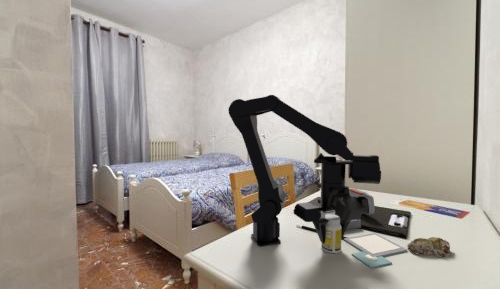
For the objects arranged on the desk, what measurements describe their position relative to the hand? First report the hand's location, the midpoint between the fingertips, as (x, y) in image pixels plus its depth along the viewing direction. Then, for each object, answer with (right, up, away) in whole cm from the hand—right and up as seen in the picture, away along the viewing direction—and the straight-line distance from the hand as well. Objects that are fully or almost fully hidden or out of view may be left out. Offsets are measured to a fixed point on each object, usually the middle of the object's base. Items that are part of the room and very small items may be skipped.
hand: (331, 241), depth 62 cm
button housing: (+9, -1, +16) cm, 18 cm away
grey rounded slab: (+18, 0, +27) cm, 33 cm away
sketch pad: (+12, -2, +2) cm, 12 cm away
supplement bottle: (0, -2, 0) cm, 2 cm away
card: (+8, -2, -5) cm, 9 cm away
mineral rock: (+25, -3, 0) cm, 25 cm away
